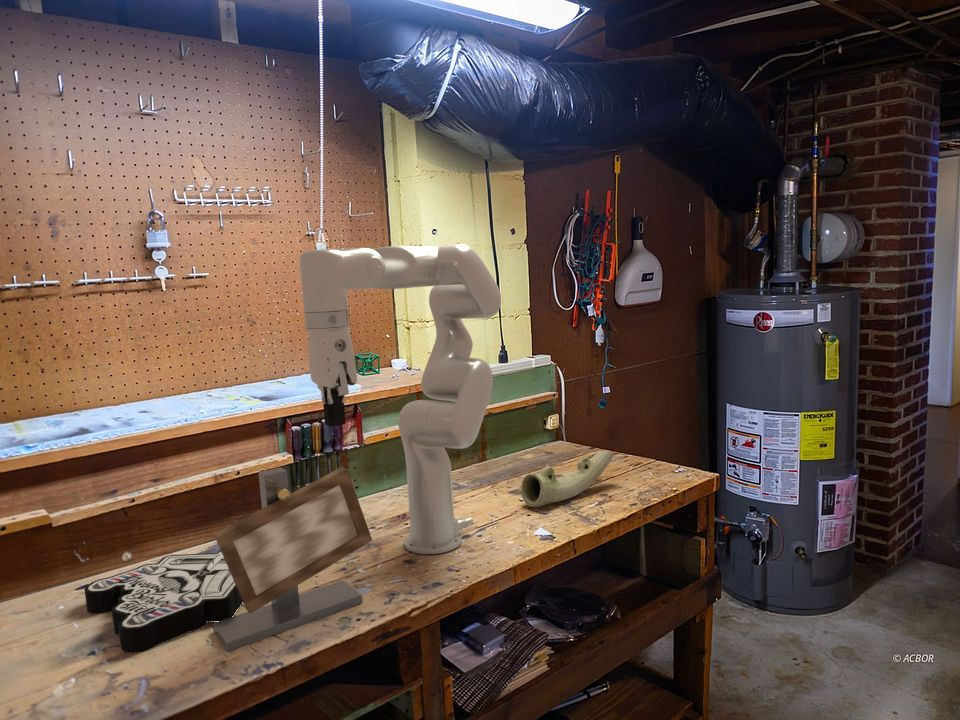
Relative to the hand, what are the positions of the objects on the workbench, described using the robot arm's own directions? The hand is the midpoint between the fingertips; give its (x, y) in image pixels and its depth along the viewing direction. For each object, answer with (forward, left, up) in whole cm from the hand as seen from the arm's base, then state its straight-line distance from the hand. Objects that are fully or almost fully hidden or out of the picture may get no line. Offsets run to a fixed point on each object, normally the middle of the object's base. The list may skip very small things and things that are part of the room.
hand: (335, 424), depth 121 cm
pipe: (-67, -13, -33) cm, 76 cm away
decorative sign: (+23, -21, -34) cm, 46 cm away
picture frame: (+7, 0, -26) cm, 27 cm away
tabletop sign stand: (+11, -1, -33) cm, 35 cm away
